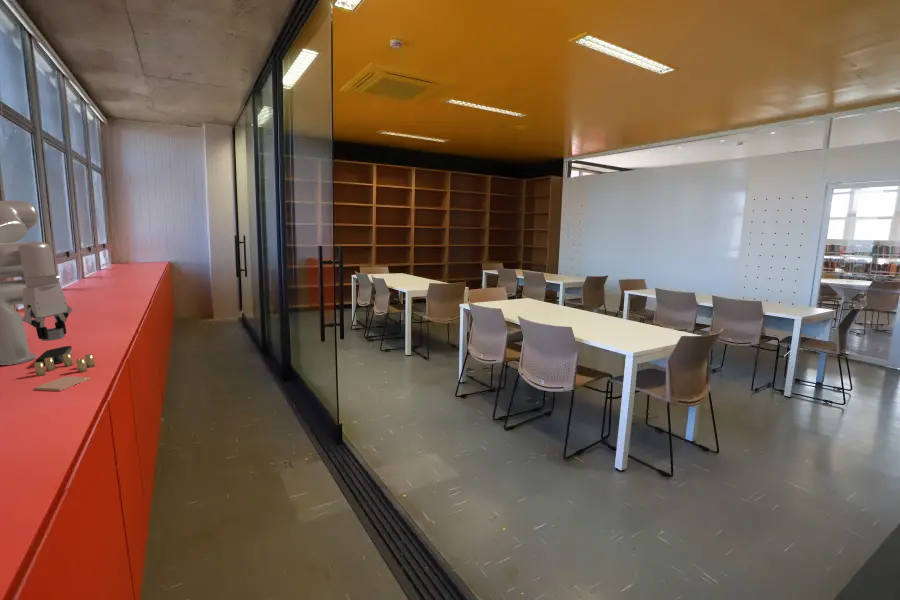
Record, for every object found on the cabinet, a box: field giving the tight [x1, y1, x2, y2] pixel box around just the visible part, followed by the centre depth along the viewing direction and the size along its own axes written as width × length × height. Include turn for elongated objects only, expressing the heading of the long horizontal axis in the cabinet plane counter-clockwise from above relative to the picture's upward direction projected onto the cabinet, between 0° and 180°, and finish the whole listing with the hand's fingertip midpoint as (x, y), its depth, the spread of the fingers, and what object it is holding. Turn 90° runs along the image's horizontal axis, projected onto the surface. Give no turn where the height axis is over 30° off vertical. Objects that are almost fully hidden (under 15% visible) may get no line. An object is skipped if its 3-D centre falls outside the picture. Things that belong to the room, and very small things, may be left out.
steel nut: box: [41, 327, 66, 342], centre depth 145 cm, size 6×5×3 cm
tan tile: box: [34, 375, 91, 392], centre depth 148 cm, size 10×10×1 cm
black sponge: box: [35, 345, 73, 367], centre depth 175 cm, size 16×8×4 cm, turn 30°
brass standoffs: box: [33, 353, 96, 377], centre depth 162 cm, size 16×12×4 cm
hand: (52, 335), depth 145 cm, fingers closed on steel nut, 5 cm apart
